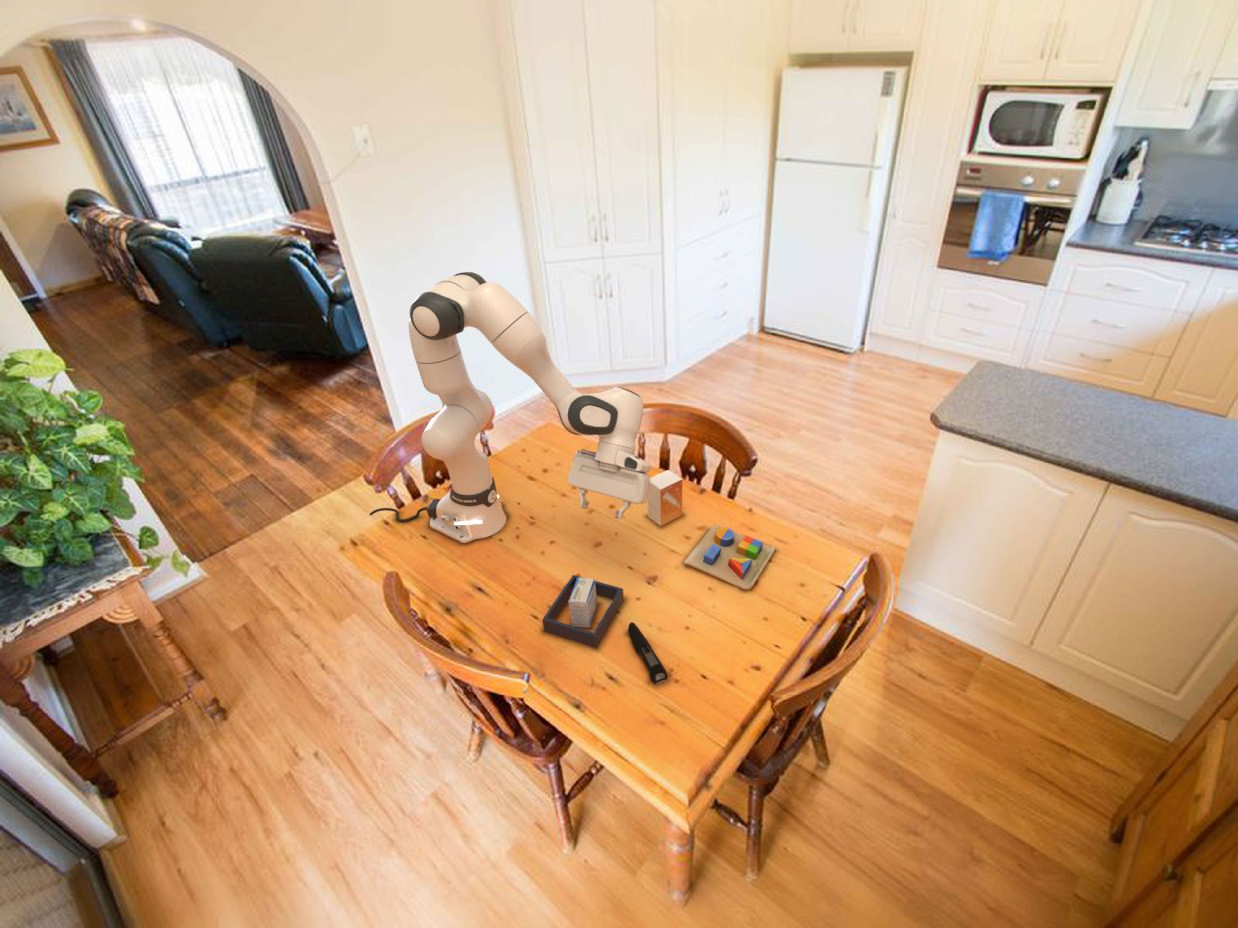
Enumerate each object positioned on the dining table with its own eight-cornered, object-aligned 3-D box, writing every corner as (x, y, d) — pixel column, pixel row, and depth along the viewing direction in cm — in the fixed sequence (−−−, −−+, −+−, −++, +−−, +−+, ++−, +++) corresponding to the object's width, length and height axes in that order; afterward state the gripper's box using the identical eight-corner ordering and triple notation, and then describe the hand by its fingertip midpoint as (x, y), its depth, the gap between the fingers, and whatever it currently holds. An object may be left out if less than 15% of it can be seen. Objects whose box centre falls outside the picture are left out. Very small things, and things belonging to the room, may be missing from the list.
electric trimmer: (639, 628, 142) (638, 618, 140) (668, 679, 129) (668, 669, 128) (624, 633, 141) (623, 624, 139) (652, 685, 128) (652, 675, 127)
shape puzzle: (750, 593, 149) (752, 580, 146) (682, 566, 158) (682, 554, 155) (776, 550, 161) (778, 538, 158) (711, 528, 170) (711, 516, 167)
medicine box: (590, 629, 142) (586, 602, 137) (571, 626, 143) (567, 600, 138) (597, 604, 148) (595, 578, 144) (580, 602, 149) (576, 576, 144)
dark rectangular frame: (544, 631, 142) (542, 619, 140) (574, 586, 154) (573, 574, 152) (596, 648, 137) (595, 636, 135) (623, 600, 149) (623, 588, 147)
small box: (661, 527, 171) (660, 489, 164) (647, 516, 176) (645, 479, 168) (683, 515, 175) (683, 478, 168) (668, 505, 179) (668, 468, 172)
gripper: (570, 446, 146) (557, 502, 146) (648, 465, 138) (634, 525, 138) (581, 448, 151) (569, 502, 152) (657, 467, 143) (643, 523, 144)
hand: (600, 513), depth 145 cm, fingers open, 8 cm apart
